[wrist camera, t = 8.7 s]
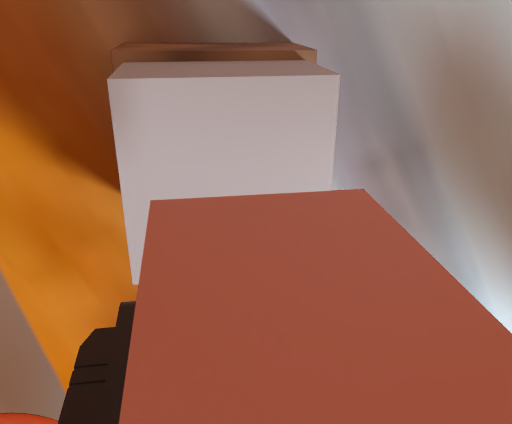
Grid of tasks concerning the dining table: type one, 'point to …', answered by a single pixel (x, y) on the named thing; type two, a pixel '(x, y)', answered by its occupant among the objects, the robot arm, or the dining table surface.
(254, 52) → the bottom slab
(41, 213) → the dining table surface
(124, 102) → the top slab
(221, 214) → the red block
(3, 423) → the teapot
